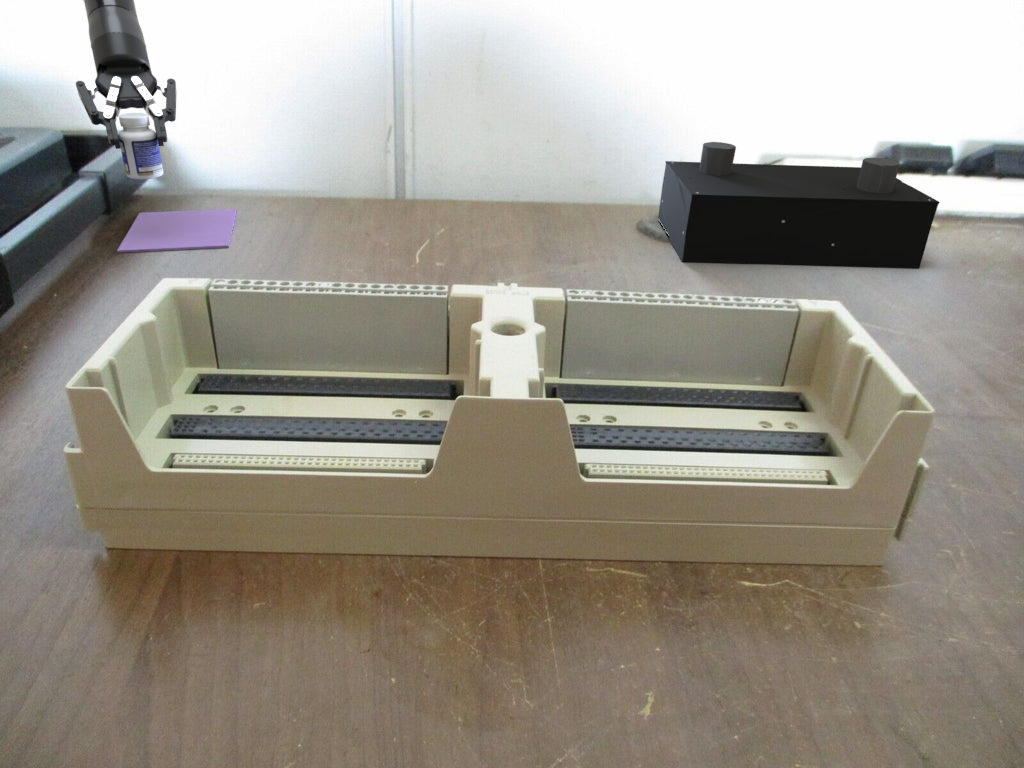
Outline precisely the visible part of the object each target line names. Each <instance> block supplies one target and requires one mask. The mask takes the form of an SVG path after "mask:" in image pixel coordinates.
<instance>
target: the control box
mask: <svg viewBox="0 0 1024 768" xmlns="http://www.w3.org/2000/svg"><path fill="white" fill-rule="evenodd" d="M701 149H702V150H701V156H700V161H699V162H698V161H673V160H671V161H670V160H665V168H664V173H663V179H662V186H661V192H660V193H661V194H660V199H659V208H658V214H657V215H658V216H657V219H658V218H659V219H660V221H661V223H662V224H663V226H664V228H665V229H666V231H667V232H668V234H669V238H670V239H669V238H668V239H669V241H670V244H671V246H672V248H673V249H674V251H675V253H676V254H677V256H678V258H679V259H680V261H681V263H713V264H746V265H747V264H749V265H751V264H753V265H757V264H758V265H787V266H788V265H789V266H822V267H825V266H826V267H849V268H850V267H852V268H854V267H855V268H885V269H887V268H889V269H920V268H921V264H922V261H923V258H924V257H923V256H924V254H925V250H926V246H927V243H928V241H929V237H930V233H931V229H932V225H933V222H934V219H935V216H936V213H937V210H938V206H939V204H940V201H939V200H937V199H935V198H933V197H932V196H930V195H928V194H926V193H925V192H922V191H921V190H919V189H916V188H915V187H913V186H912V185H909V184H907V183H906V182H903V181H902V180H901V179H899V178H897V175H898V172H899V168H900V164H901V163H900V162H899V161H897V160H894V159H889V158H883V157H865V158H863V159H862V162H861V167H860V166H830V165H827V166H826V165H798V164H797V165H795V164H764V163H762V164H761V163H736V162H735V163H734V160H735V155H736V150H737V147H736V145H734V144H733V143H727V142H721V141H708V142H704V143H703V144H702V148H701Z"/></svg>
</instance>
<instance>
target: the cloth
mask: <svg viewBox="0 0 1024 768" xmlns="http://www.w3.org/2000/svg"><path fill="white" fill-rule="evenodd" d="M236 210H237V211H238V209H237V208H227V209H225V208H224V209H204V210H203V209H200V210H198V209H197V210H175V211H174V210H173V211H171V210H170V211H146V212H145V211H143V212H138V215H137V216H136V218H135V220H134V221H133V223H132V225H131V226H130V228H129V230H128V232H127V233H126V235H125V237H123V240H122V241H121V243H120V245H119V246H118V248H117V250H116V252H117V254H124V253H143V252H165V251H168V252H169V251H186V250H187V251H188V250H208V249H209V250H210V249H229V247H230V243H231V239H232V234H233V231H232V230H234V226H235V222H236V217H237V213H236ZM235 216H236V217H235ZM234 221H235V222H234Z"/></svg>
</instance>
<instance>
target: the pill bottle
mask: <svg viewBox="0 0 1024 768" xmlns="http://www.w3.org/2000/svg"><path fill="white" fill-rule="evenodd" d="M118 119H119V124H120V127H122V129H121V130H120V131H119V132H118V137H119V142H120V147H121V148H120V152H121V156H122V157H121V158H122V162H123V166H124V171H125V175H126V176H127V178H129V179H133V180H151V179H157V178H160V177H162V176H163V175H164V168H163V163H162V157H161V152H160V146H159V145H158V140H157V135H156V131H155V129H154V130H153V129H152V128H150V125H151V124H150V116H149V115H148V114H147V113H143V112H129V113H123V114H119V116H118Z"/></svg>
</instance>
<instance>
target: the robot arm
mask: <svg viewBox="0 0 1024 768" xmlns="http://www.w3.org/2000/svg"><path fill="white" fill-rule="evenodd" d="M82 1H83V3H84V8H85V13H86V18H87V23H88V36H89V37H88V38H89V41H90V48H91V52H92V56H93V62H94V67H95V71H96V77H95V80H94V81H93V82H89V83H85V82H84V81H83V80H77V81H76V82H75V87H76V90H77V94H78V97H79V100H80V101H81V103H82V106H83V107H84V110H85V111H86V114H87V115H88V118H89V120H90V123H91V124H92V125H95V126H99V125H103V127H105V129H106V130H105V131H106V135H107V140H108V143H109V144H110V146H114V148H115V149H116V150H117V149H118V150H119V149H120V150H121V147H120V142H119V137H118V134H119V132H118V128H117V124H116V122H117V119H118V118H119V116H120V113H121V110H128V109H131V108H134V109H143V110H144V112H145V114H147V115H148V116H149V117H150V118H151V119H152V121H153V126H154V131H155V133H156V135H157V140H158V145H159V147H164V146H165V143H167V142H168V133H167V129H166V123H167V122H171V123H172V122H175V121H176V119H177V84H176V83H177V82H176V79H174V78H168V79H167V80H166V81H164V80H157V78H156V77H155V76H154V74H153V73H152V68H151V63H150V59H149V55H148V50H147V44H146V41H145V36H144V33H143V30H142V28H141V25H140V21H139V18H138V17H139V16H138V13H137V9H136V4H135V0H82ZM157 91H160V92H161V95H162V96H163V97H164V98H165V108H163V109H161V108H160V106H159V105H158V104H157V102H156V100H155V98H154V95H155V94H156V92H157ZM97 92H98V93H99V94H100V95H102V96H103V97H104V98H105V99H106V100H105V107H104V111H100V110H98V108H97V105H96V103H95V102H94V99H96V93H97Z"/></svg>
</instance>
